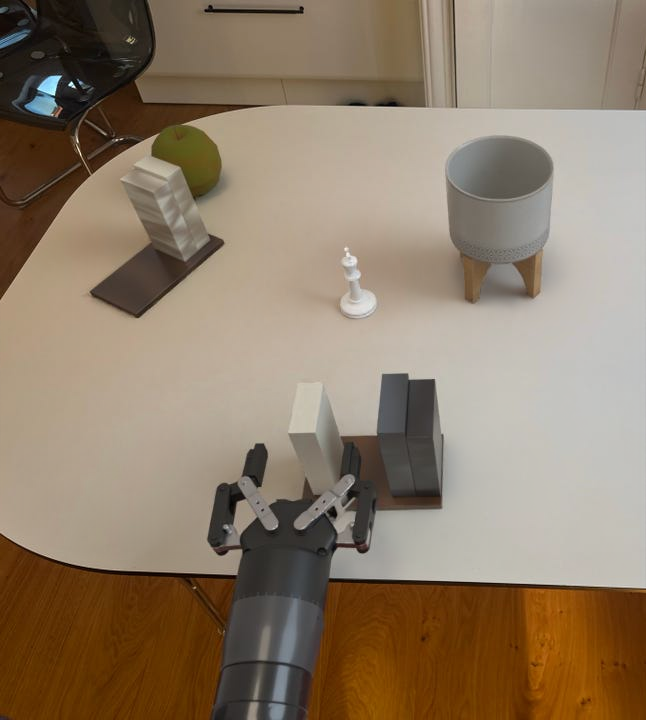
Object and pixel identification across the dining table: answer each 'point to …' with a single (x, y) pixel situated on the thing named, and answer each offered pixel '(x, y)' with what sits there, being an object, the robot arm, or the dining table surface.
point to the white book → (316, 437)
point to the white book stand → (158, 238)
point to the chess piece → (355, 291)
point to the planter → (499, 207)
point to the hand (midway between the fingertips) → (306, 446)
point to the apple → (190, 156)
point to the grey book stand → (402, 447)
